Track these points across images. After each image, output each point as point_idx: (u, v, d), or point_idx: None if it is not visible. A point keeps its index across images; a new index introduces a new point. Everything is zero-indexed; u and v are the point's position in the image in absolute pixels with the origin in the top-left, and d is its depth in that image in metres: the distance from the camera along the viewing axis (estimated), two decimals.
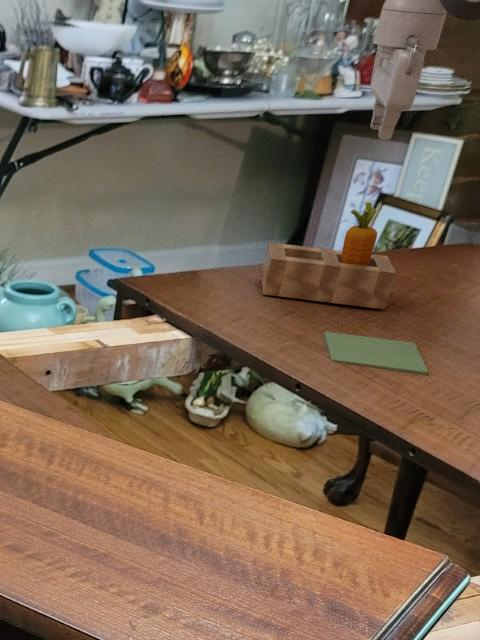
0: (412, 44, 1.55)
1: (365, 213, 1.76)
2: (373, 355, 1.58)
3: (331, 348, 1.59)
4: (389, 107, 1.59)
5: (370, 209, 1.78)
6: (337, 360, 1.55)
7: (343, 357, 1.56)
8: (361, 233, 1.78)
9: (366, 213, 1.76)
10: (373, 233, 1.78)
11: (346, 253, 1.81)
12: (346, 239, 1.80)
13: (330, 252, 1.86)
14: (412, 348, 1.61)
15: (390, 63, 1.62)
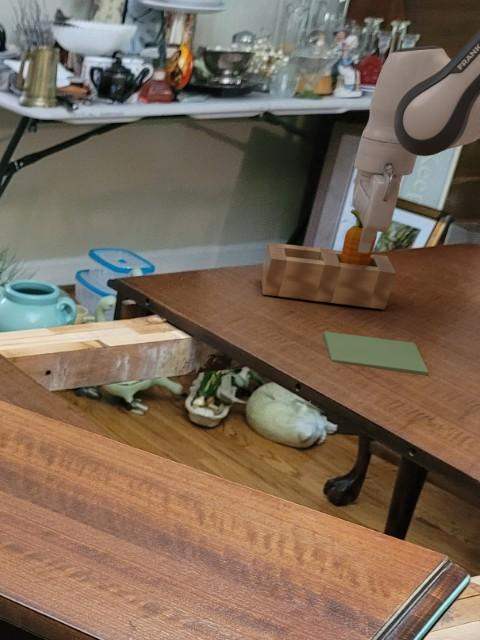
0: (388, 173, 1.67)
1: None
2: (373, 355, 1.58)
3: (331, 348, 1.59)
4: (368, 229, 1.71)
5: None
6: (337, 360, 1.55)
7: (343, 357, 1.56)
8: (361, 232, 1.78)
9: None
10: None
11: (346, 253, 1.81)
12: (346, 239, 1.80)
13: (330, 252, 1.86)
14: (412, 348, 1.61)
15: (369, 185, 1.75)
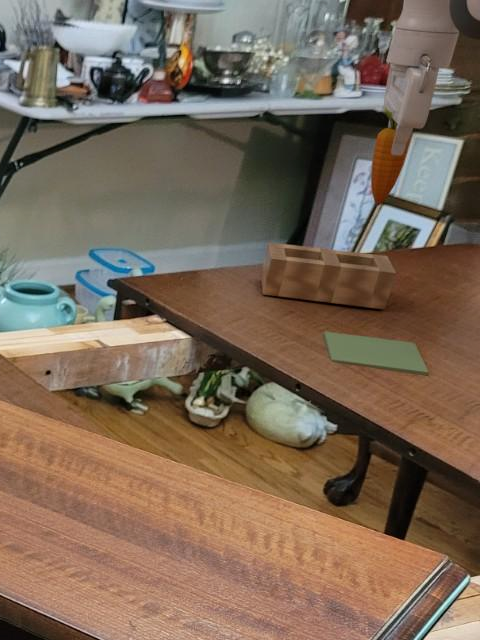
0: (425, 63, 1.56)
1: None
2: (373, 355, 1.58)
3: (331, 348, 1.59)
4: (402, 125, 1.60)
5: None
6: (337, 360, 1.55)
7: (343, 357, 1.56)
8: (394, 134, 1.67)
9: None
10: None
11: (377, 157, 1.70)
12: (378, 142, 1.69)
13: (330, 252, 1.86)
14: (412, 348, 1.61)
15: (403, 81, 1.64)
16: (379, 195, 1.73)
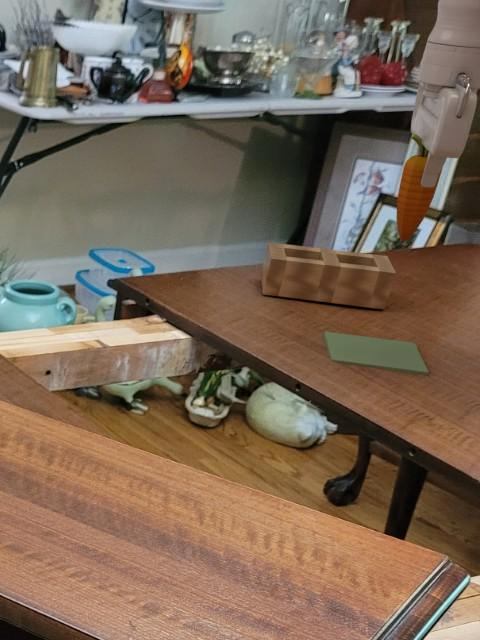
0: (463, 83, 1.35)
1: None
2: (373, 355, 1.58)
3: (331, 348, 1.59)
4: (436, 154, 1.39)
5: None
6: (337, 360, 1.55)
7: (343, 357, 1.56)
8: (424, 162, 1.46)
9: None
10: None
11: (404, 188, 1.49)
12: (405, 171, 1.48)
13: (330, 252, 1.86)
14: (412, 348, 1.61)
15: (436, 103, 1.43)
16: (405, 231, 1.52)
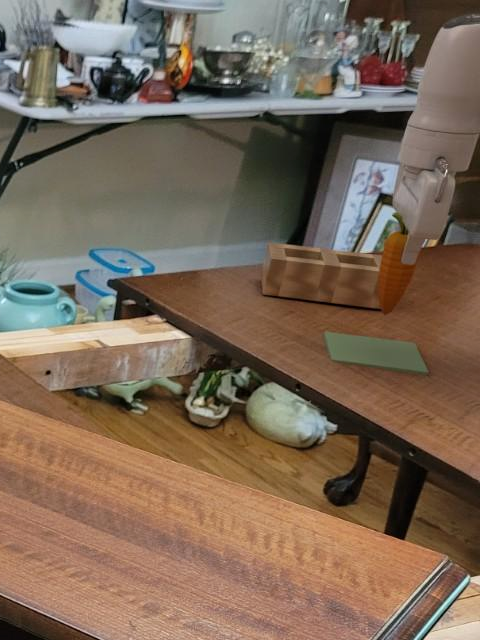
0: (442, 169, 1.38)
1: None
2: (373, 355, 1.58)
3: (331, 348, 1.59)
4: (415, 236, 1.42)
5: None
6: (337, 360, 1.55)
7: (343, 357, 1.56)
8: (405, 240, 1.49)
9: None
10: None
11: (385, 264, 1.52)
12: (386, 247, 1.51)
13: (330, 252, 1.86)
14: (412, 348, 1.61)
15: (416, 184, 1.46)
16: (387, 304, 1.55)
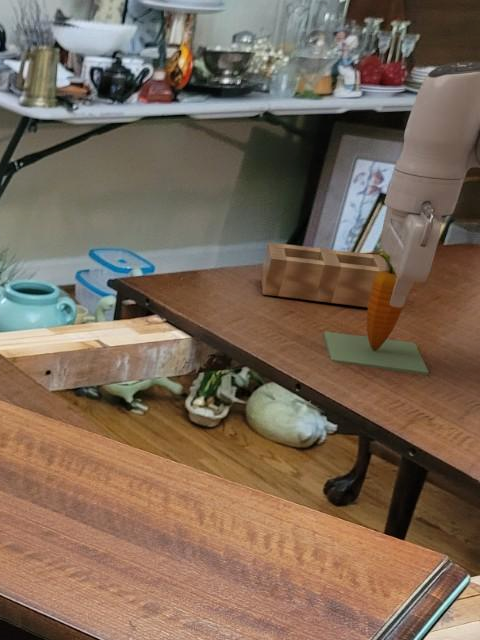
0: (427, 214, 1.41)
1: None
2: (373, 355, 1.58)
3: (331, 348, 1.59)
4: (402, 279, 1.45)
5: None
6: (337, 360, 1.55)
7: (343, 357, 1.56)
8: (392, 279, 1.52)
9: None
10: None
11: (374, 302, 1.55)
12: (374, 286, 1.54)
13: (330, 252, 1.86)
14: (412, 348, 1.61)
15: (403, 226, 1.49)
16: (375, 341, 1.58)
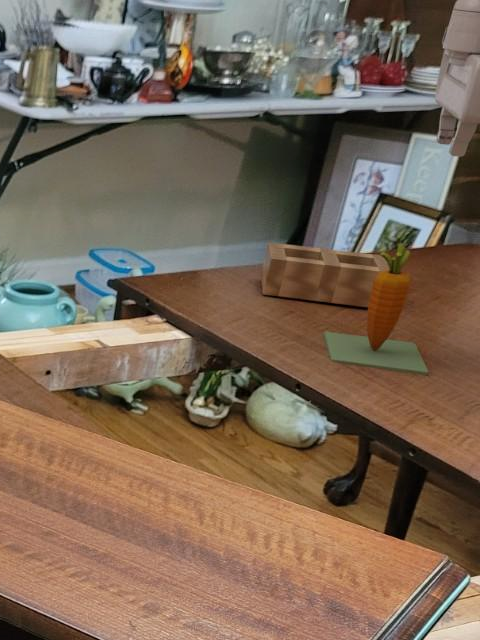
0: None
1: (398, 257, 1.50)
2: (373, 355, 1.58)
3: (331, 348, 1.59)
4: (465, 120, 1.40)
5: (403, 251, 1.52)
6: (337, 360, 1.55)
7: (343, 357, 1.56)
8: (393, 279, 1.52)
9: (399, 257, 1.50)
10: (407, 280, 1.52)
11: (374, 302, 1.55)
12: (375, 286, 1.54)
13: (330, 252, 1.86)
14: (412, 348, 1.61)
15: (463, 70, 1.44)
16: (375, 341, 1.58)
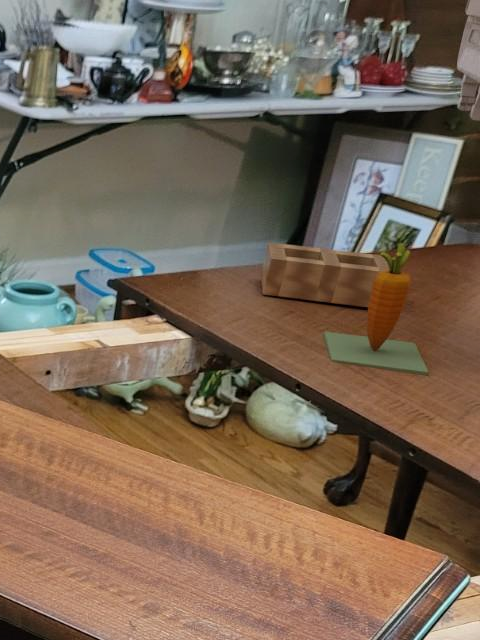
0: None
1: (398, 257, 1.50)
2: (373, 355, 1.58)
3: (331, 348, 1.59)
4: None
5: (403, 251, 1.52)
6: (337, 360, 1.55)
7: (343, 357, 1.56)
8: (393, 279, 1.52)
9: (399, 257, 1.50)
10: (407, 280, 1.52)
11: (374, 302, 1.55)
12: (375, 286, 1.54)
13: (330, 252, 1.86)
14: (412, 348, 1.61)
15: None
16: (376, 341, 1.58)
